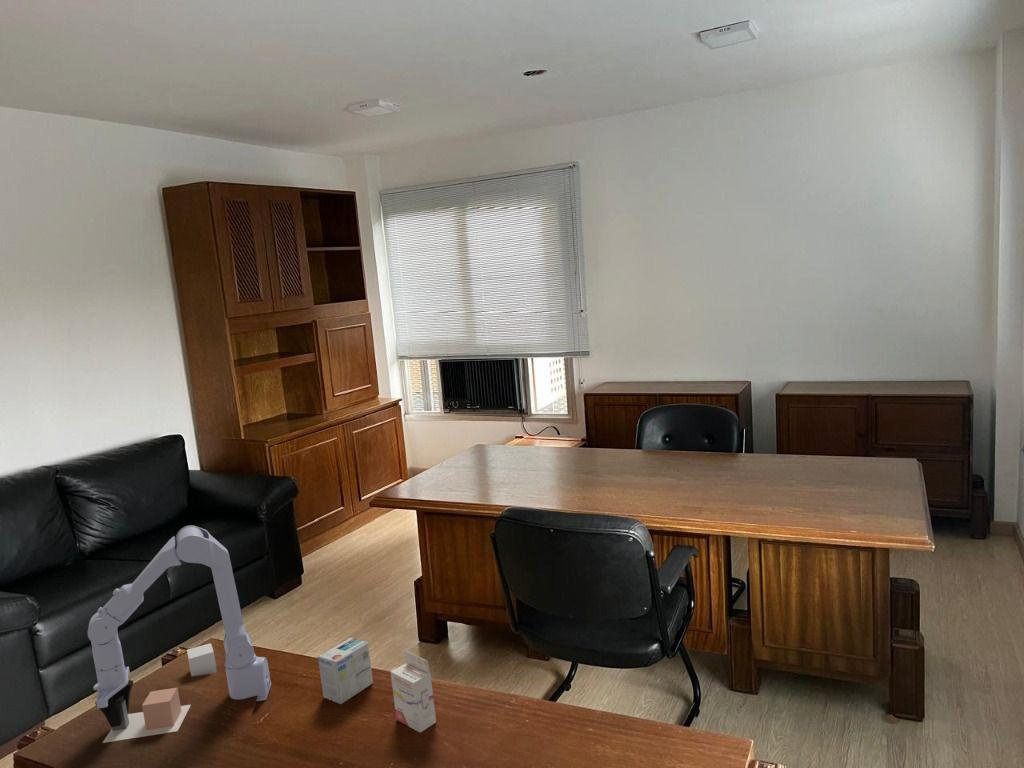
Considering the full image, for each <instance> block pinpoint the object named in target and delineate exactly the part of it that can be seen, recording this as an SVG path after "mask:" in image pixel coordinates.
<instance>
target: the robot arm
mask: <svg viewBox="0 0 1024 768" xmlns="http://www.w3.org/2000/svg"><path fill="white" fill-rule="evenodd" d="M182 562H185V563H189V564H191V563H192V564H201V565H204V566H206V567H209V568H210V570H211V573H212V577H213V583H214V587H215V591H216V596H217V601H218V606H219V611H220V615H221V619H222V624H223V630H224V637H223V641H222V644H223V647H224V651H225V661H224V668H225V674H226V681H227V688H228V693H229V698H231V699H233V700H244V699H245V700H246V699H248V698H252V697H256V696H257V697H256V699H255V702H256V703H257V702H262V701H263V702H264V701H266V700H267V698H268V695H269V692H270V689H271V686H272V682H271V681H272V680H271V676H270V669H269V662H268V659H267V657H265V656H257V655H256V653H255V650H254V647H253V645H252V641H251V635H250V633H249V632H248V631H247V629H246V627H245V623H244V620H243V614H242V609H241V606H240V605H241V604H240V600H239V595H238V591H237V586H236V582H235V577H234V572H233V567H232V562H231V558H230V554H229V551H228V549H227V548H226V546H224V545H223V544H221V542H219V541H218V540H217V539H216V538H215V537H213V535H211V534H210V532H209V531H208V530H207V529H204V528H202V527H199V526H196V525H186V526H184V527H182V528H181V529H179V530H178V531H177V534H176V536H175V535H174V536H172V537H171V538H170V539H168V541H167V542H166V544H164V545H163V547H162V548H161V549H160V550H159V551H158V552H157V554H155V556H154V557H153V559H152V560H151V561H150V562H149V563H148V564H147V565H146V567H145V568H144V569H143V570H142V571H141V573H139V575H138V576H137V577H136V578H135V579H134V581H133V582H132V583H127V584H123V585H122V586H121V587H119V588H115V589H114V591H113V592H112V595H113V596H112V597H111V598H110V599H109V600H108V601H107V602H106V604H105V605H103V607H102V606H100V607H99V608H98V609H97V612H95V614H93V615H92V616H91V618H90V619H89V623H88V628H87V637H88V639H89V641H90V644H91V647H92V649H91V652H92V656H93V662H94V663H93V664H94V668H95V673H96V674H95V675H96V678H97V683H95V685H94V686H93V691H97V698H96V700H95V702H94V704H95V707H96V708H97V709H99V710H100V712H102V714H103V715H104V717H105V718H106V720H107V723H108V724H109V726H110V727H111V728H112V727H115V726H120V725H121V724H122V702H123V700H125V702H126V707H127V713H128V714H129V708H130V698H131V692H132V689H133V686H134V680H131V679H129V676H130V675H131V672H130V666H125V660H124V655H123V648H122V645H121V644H122V643H121V641H120V639H119V634H118V633H119V632H118V628H119V626H121V625H123V624H124V623H125V622H126V621H127V620H128V619H129V618H130V616H131V615H132V614H133V613H134V612H135V611H136V610H137V609H138V607H140V605H141V604H142V603H143V602H144V597H145V596H144V593H145V592H146V591H147V590H148V589H149V588H150V587H151V586H152V585H153V584H154V582H155V581H157V579H159V577H161V575H163V574H164V572H166V570H167V569H168V568H170V567H176V566H181V565H182Z"/></svg>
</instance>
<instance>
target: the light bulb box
mask: <svg viewBox="0 0 1024 768" xmlns="http://www.w3.org/2000/svg"><path fill="white" fill-rule="evenodd" d="M317 660H318V667H319V675H320V681H321V688H322V694H323V698H324V699H326V698H327V699H326V700H329V701H331V700H332V702H334V703H337V704H339V705H342V704H344V703H346V702H347V701H348V700H350V699H352V698H353V697H354V696H356V695H358V694H359V693H360V692H362V691H364V690H365V689H367V688H368V687H369V686H371V685H372V684H373V683H374V680H373V670H372V663H371V656H370V649H369V642H368V641H364V640H360V639H356V638H354V637H348V638H346V639H345V640H343V641H342V642H339V644H337V645H335V646H334V647H332V648H331V649H328V650H327V651H325V652H324V653H321V654H319V655H318V656H317Z"/></svg>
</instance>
